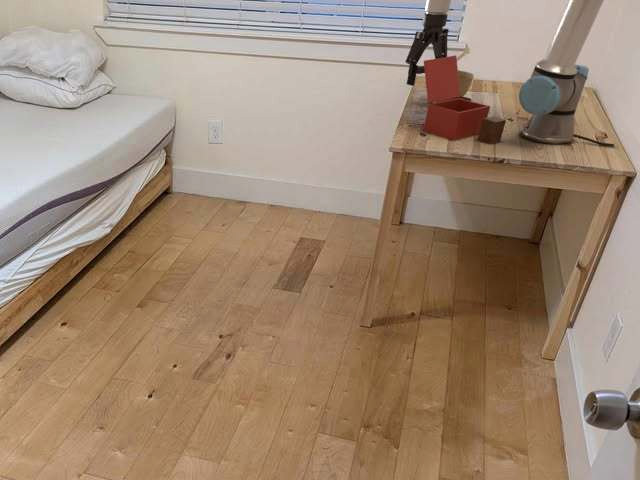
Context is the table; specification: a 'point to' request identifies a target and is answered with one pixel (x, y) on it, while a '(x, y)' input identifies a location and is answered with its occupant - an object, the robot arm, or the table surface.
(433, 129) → the chest
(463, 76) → the planter bowl
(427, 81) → the lid
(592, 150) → the table surface
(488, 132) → the block
